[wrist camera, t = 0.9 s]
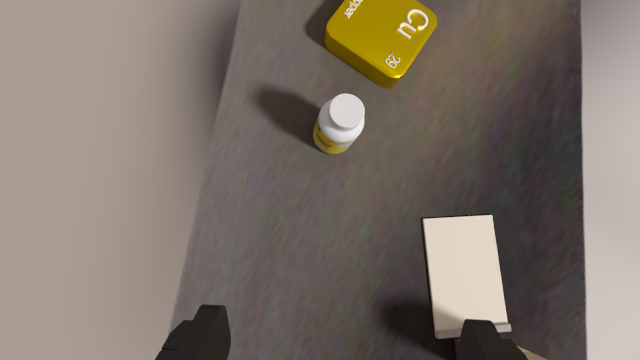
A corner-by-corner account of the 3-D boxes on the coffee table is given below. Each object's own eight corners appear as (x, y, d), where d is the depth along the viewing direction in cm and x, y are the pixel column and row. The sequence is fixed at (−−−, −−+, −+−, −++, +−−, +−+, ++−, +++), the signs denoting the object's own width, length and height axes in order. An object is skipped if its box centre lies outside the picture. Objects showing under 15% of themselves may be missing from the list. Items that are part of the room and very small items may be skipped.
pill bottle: (311, 118, 53) (320, 86, 42) (349, 117, 54) (368, 85, 43) (313, 156, 52) (323, 134, 41) (352, 155, 53) (373, 133, 42)
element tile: (363, -15, 59) (370, -36, 55) (430, 32, 59) (444, 15, 55) (318, 44, 56) (321, 27, 51) (389, 94, 56) (399, 81, 52)
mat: (506, 329, 51) (511, 331, 50) (435, 337, 50) (438, 339, 49) (490, 215, 54) (494, 214, 53) (422, 218, 53) (425, 218, 52)
